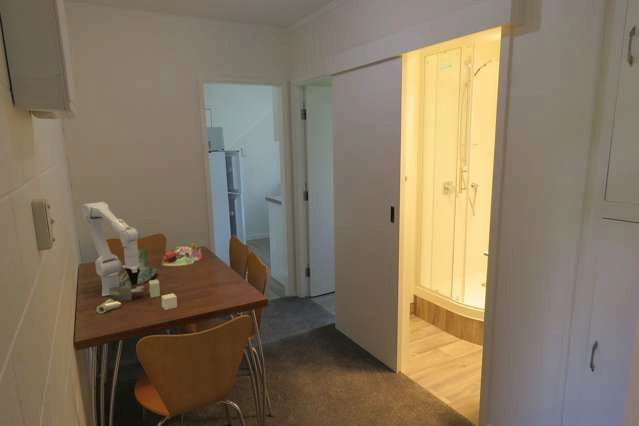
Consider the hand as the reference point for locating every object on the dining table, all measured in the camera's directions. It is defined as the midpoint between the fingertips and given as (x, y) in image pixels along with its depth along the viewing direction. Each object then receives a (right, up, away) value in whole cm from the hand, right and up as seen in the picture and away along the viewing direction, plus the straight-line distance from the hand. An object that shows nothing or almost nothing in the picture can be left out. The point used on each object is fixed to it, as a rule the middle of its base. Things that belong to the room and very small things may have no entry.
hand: (133, 283), depth 179 cm
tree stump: (-12, -3, +28) cm, 31 cm away
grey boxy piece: (-5, -7, -2) cm, 9 cm away
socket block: (+7, -6, +5) cm, 11 cm away
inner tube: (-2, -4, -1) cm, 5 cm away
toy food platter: (0, +2, +64) cm, 64 cm away
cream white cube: (+20, -9, -9) cm, 24 cm away
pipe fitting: (-5, -9, -12) cm, 16 cm away
